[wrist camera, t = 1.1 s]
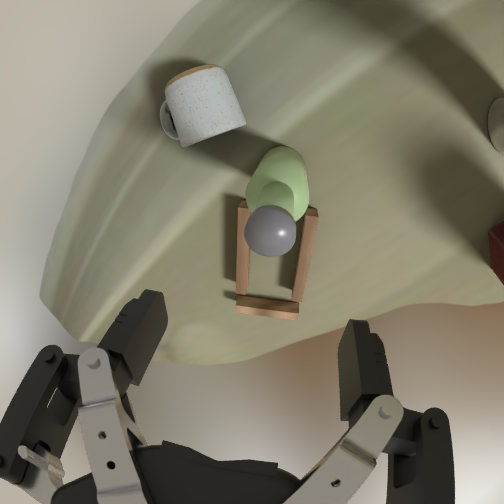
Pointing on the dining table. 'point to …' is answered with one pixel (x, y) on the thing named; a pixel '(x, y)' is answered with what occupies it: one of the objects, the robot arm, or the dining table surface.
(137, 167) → the dining table surface
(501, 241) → the dark red tall container
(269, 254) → the bottle
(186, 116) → the ceramic mug
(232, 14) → the dining table surface
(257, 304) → the rest
